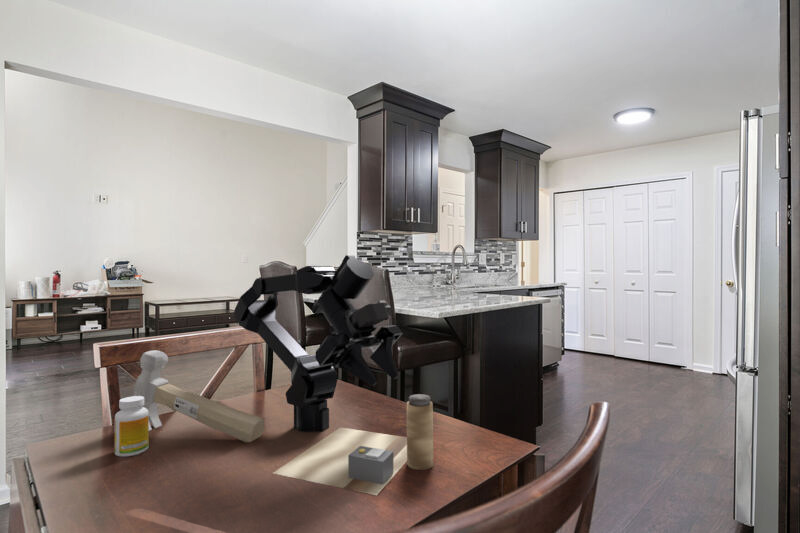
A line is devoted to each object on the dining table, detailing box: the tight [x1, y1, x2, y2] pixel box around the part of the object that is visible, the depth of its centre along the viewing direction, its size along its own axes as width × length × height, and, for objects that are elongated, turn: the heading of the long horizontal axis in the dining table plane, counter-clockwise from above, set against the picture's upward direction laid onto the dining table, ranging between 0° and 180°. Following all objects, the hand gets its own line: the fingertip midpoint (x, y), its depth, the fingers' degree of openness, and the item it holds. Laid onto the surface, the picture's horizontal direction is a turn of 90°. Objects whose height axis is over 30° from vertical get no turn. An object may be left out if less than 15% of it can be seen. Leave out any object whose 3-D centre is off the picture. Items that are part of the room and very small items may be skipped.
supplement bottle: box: [114, 395, 150, 458], centre depth 81 cm, size 5×5×10 cm
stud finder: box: [348, 446, 393, 484], centre depth 70 cm, size 6×4×4 cm, turn 68°
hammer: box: [132, 349, 266, 443], centre depth 90 cm, size 16×5×30 cm
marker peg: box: [406, 393, 434, 471], centre depth 74 cm, size 4×4×12 cm
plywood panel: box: [272, 426, 407, 496], centre depth 77 cm, size 18×22×1 cm
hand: (385, 381), depth 79 cm, fingers open, 6 cm apart
